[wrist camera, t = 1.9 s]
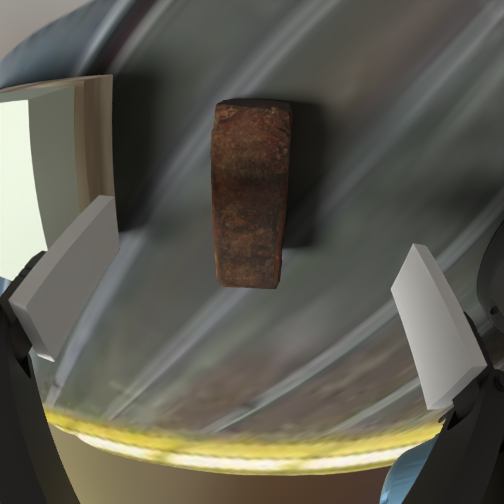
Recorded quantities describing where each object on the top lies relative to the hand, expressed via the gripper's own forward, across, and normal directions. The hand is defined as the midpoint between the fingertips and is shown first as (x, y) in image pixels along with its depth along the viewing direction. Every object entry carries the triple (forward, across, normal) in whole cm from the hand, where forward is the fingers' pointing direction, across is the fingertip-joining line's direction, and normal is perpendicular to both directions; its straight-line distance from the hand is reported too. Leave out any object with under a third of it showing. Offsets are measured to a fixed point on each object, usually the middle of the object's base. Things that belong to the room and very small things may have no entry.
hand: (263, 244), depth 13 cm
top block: (+5, +16, 0) cm, 17 cm away
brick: (+8, +1, 0) cm, 8 cm away
